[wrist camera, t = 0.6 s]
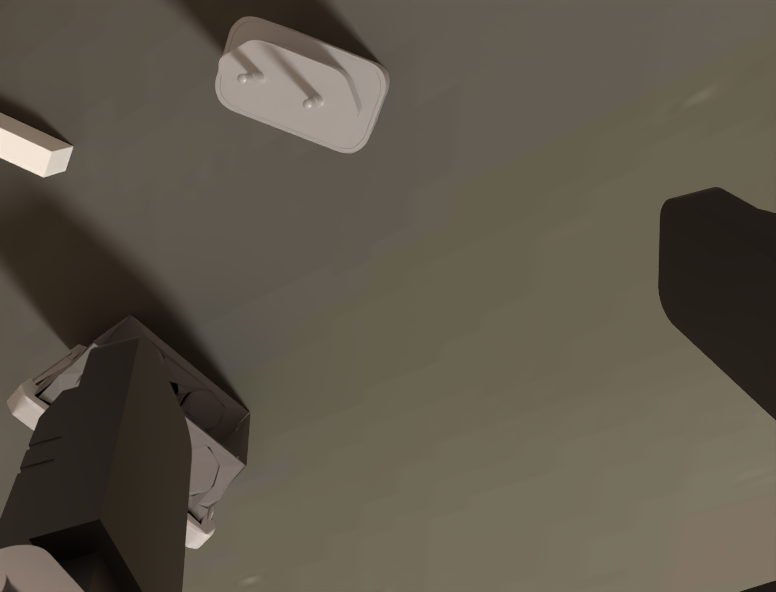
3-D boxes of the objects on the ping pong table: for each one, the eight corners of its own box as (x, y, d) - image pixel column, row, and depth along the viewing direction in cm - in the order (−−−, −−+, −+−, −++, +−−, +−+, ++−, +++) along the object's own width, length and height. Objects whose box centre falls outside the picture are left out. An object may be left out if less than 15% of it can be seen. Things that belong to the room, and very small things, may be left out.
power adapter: (370, 139, 30) (350, 182, 19) (253, 94, 30) (161, 110, 18) (395, 70, 29) (390, 72, 18) (275, 22, 29) (192, -7, 18)
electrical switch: (71, 352, 34) (-30, 437, 25) (138, 278, 33) (59, 338, 24) (216, 467, 36) (171, 584, 27) (282, 400, 35) (258, 498, 26)
